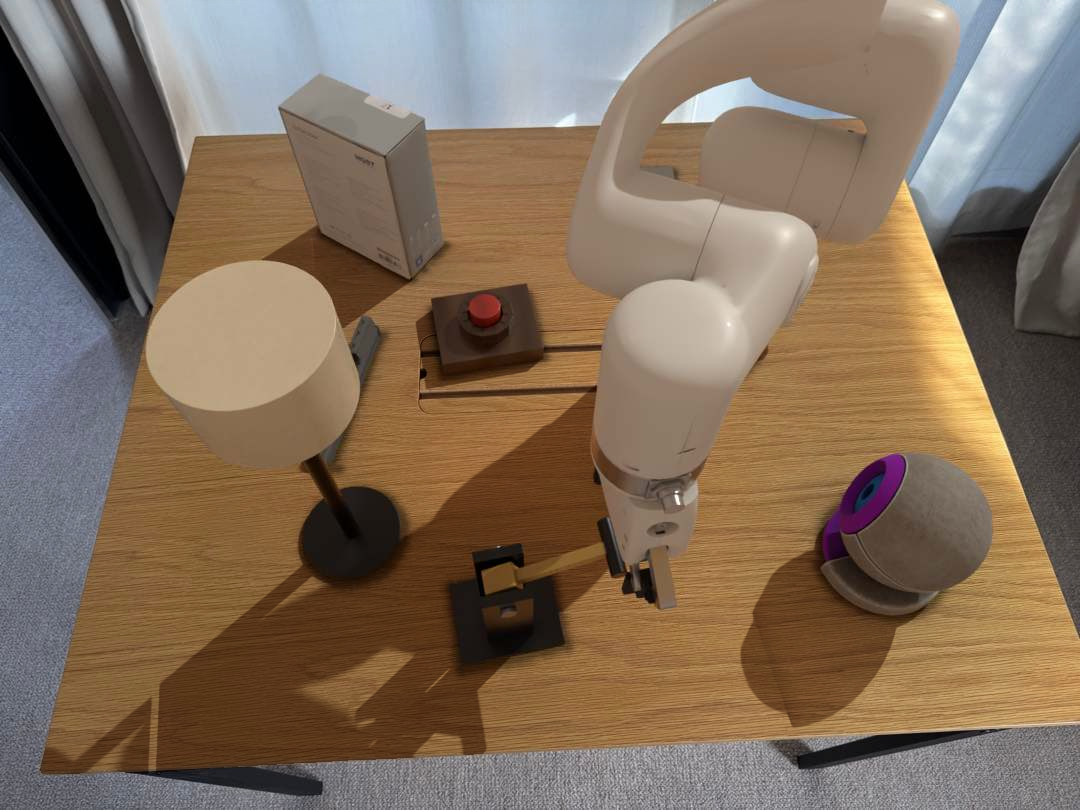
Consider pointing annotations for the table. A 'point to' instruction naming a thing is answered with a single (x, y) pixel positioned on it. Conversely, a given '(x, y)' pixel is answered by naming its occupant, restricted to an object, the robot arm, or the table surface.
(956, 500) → the webcam
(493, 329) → the button block
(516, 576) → the tan handled piece
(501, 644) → the switch bracket
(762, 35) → the robot arm
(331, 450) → the grey long bar
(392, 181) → the hard drive box
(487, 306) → the red push button
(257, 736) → the table surface
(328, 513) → the desk lamp
